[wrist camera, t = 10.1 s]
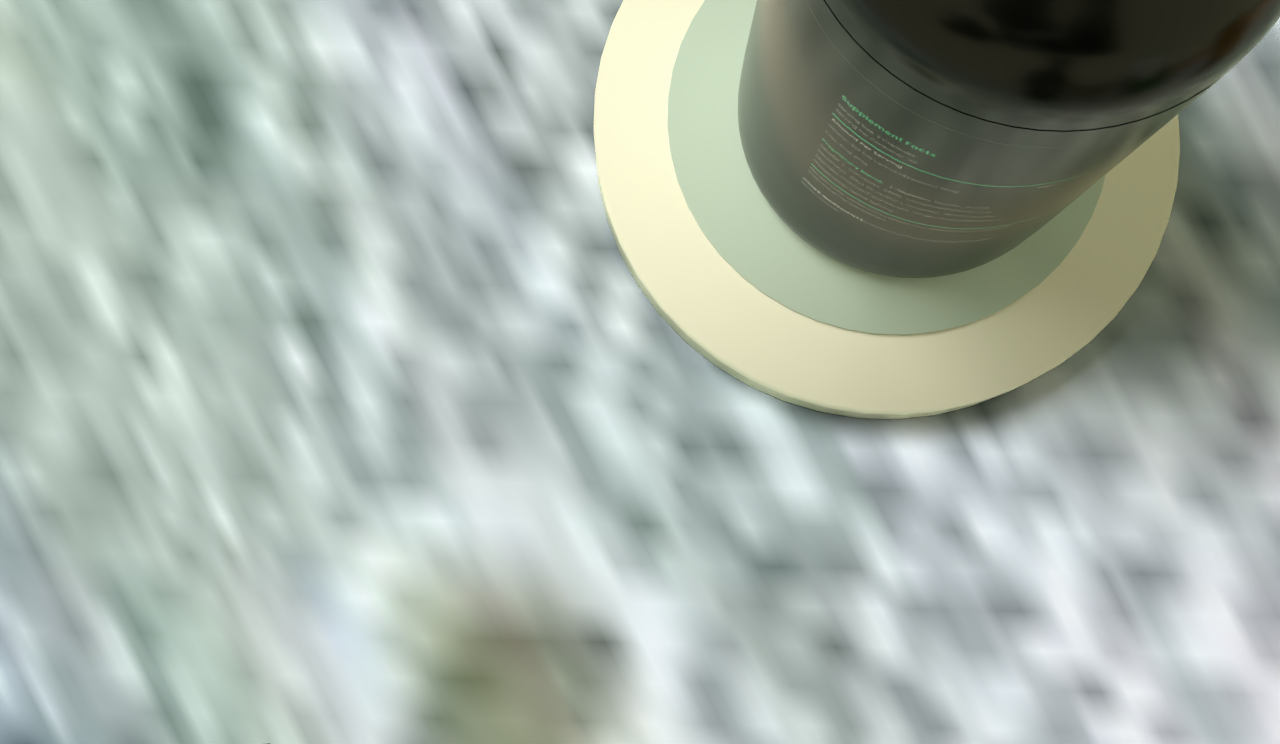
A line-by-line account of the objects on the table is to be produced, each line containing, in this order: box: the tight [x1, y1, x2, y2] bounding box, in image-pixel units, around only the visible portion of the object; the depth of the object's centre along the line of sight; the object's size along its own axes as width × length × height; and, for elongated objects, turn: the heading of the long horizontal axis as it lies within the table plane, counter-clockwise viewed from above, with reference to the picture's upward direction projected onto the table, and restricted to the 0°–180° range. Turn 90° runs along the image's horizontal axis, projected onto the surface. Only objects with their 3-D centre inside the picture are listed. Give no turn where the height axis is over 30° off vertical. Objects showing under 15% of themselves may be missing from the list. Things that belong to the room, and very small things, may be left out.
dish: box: [594, 0, 1180, 419], centre depth 23 cm, size 12×12×1 cm
